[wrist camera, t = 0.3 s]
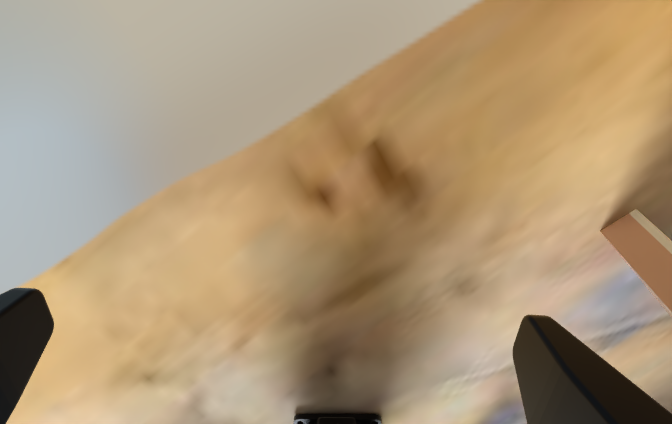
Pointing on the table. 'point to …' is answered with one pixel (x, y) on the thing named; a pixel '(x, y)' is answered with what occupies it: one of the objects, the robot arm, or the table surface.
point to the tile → (644, 253)
